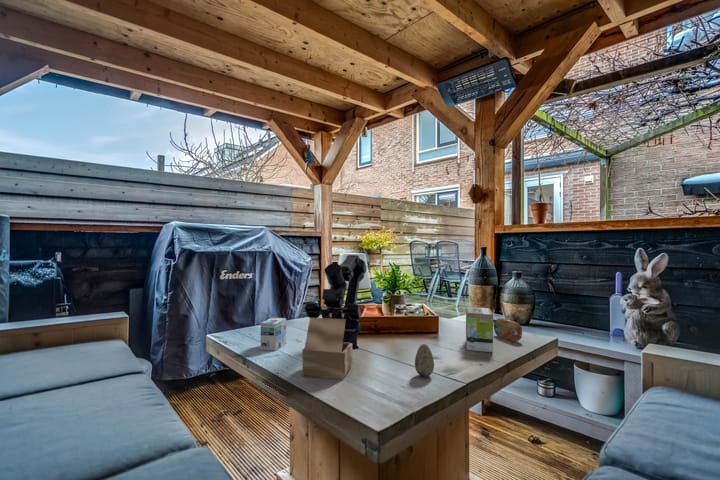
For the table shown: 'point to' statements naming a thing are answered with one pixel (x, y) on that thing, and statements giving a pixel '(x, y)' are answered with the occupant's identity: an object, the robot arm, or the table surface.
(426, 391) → the table surface
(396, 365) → the table surface
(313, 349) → the carton flap
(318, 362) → the carton
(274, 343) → the light bulb box
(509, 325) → the tin
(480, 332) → the tea box
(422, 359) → the decorative egg
